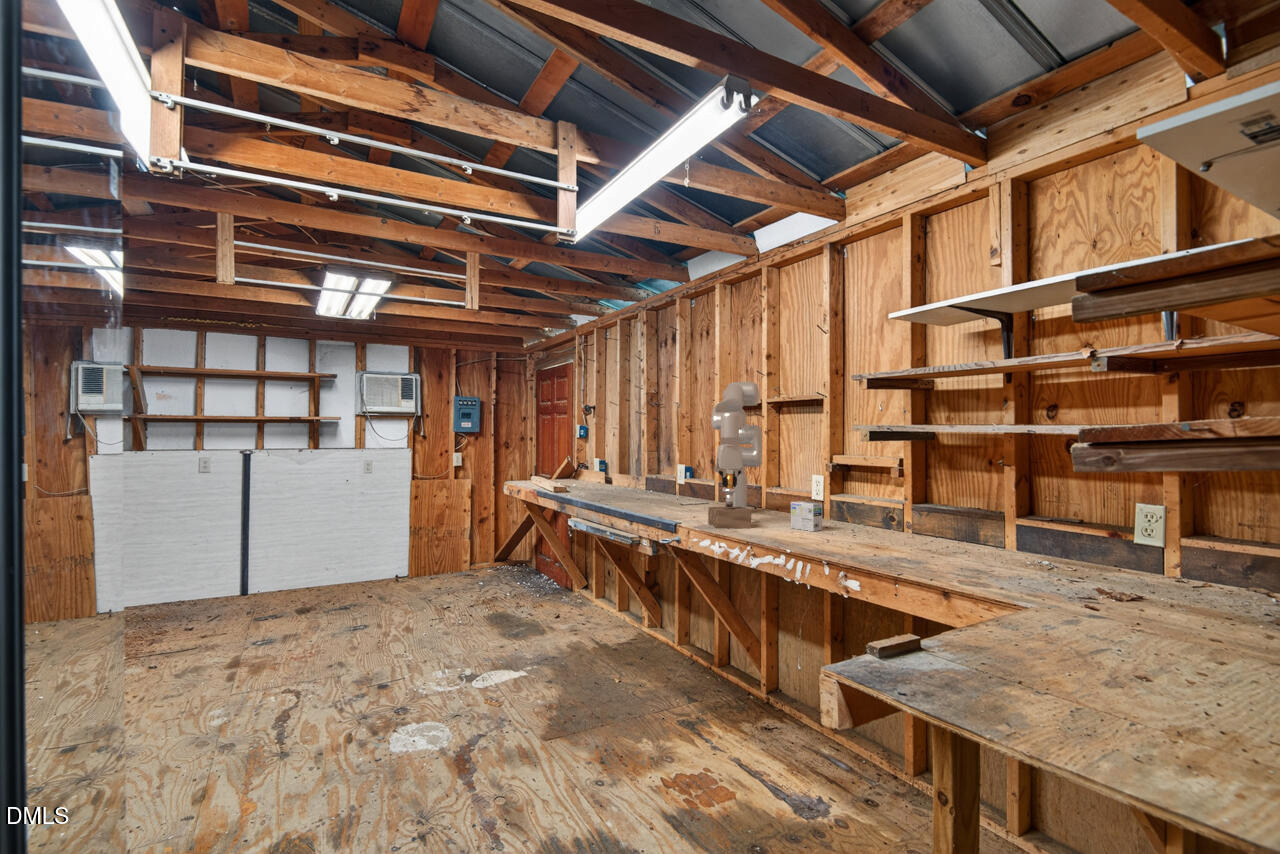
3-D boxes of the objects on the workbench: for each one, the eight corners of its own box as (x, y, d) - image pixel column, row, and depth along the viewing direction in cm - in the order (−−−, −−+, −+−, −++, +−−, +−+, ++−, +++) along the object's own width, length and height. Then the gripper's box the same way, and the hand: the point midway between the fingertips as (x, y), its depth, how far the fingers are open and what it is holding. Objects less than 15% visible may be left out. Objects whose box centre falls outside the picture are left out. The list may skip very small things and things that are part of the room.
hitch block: (708, 523, 250) (708, 506, 250) (740, 523, 252) (740, 506, 252) (717, 528, 236) (717, 511, 236) (751, 528, 238) (751, 510, 238)
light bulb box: (822, 530, 234) (823, 503, 235) (813, 532, 230) (813, 504, 230) (799, 527, 242) (799, 500, 243) (789, 528, 238) (790, 501, 238)
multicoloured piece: (720, 505, 246) (721, 473, 247) (733, 505, 247) (734, 473, 247) (724, 507, 241) (725, 474, 241) (738, 507, 242) (738, 474, 242)
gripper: (746, 442, 249) (745, 486, 249) (708, 441, 247) (707, 486, 247) (752, 442, 242) (751, 487, 242) (712, 442, 240) (712, 487, 239)
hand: (729, 486), depth 244 cm, fingers closed on multicoloured piece, 3 cm apart
